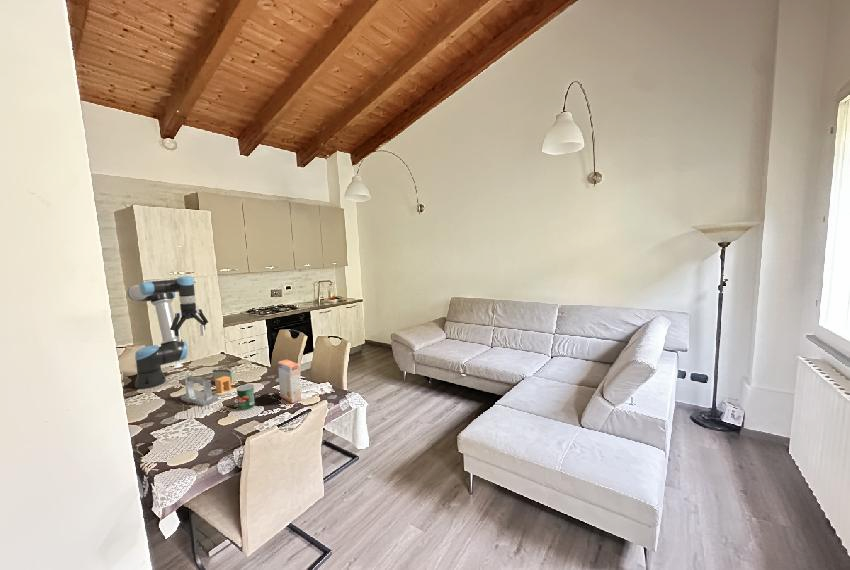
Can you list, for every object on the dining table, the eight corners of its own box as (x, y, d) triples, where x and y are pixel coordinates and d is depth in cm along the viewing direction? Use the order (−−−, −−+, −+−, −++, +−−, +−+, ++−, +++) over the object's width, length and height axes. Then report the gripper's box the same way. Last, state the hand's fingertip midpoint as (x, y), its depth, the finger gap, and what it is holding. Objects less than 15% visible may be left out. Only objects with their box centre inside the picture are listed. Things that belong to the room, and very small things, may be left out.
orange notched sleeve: (216, 391, 202) (215, 379, 201) (225, 387, 207) (224, 375, 206) (221, 393, 200) (220, 380, 199) (231, 389, 205) (230, 377, 204)
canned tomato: (236, 411, 179) (234, 391, 178) (240, 404, 187) (238, 385, 185) (253, 409, 181) (251, 389, 180) (256, 402, 189) (254, 383, 187)
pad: (210, 393, 201) (210, 392, 201) (226, 386, 210) (226, 385, 210) (221, 396, 197) (221, 395, 197) (237, 389, 206) (237, 388, 206)
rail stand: (181, 399, 193) (179, 378, 192) (195, 394, 201) (193, 373, 199) (203, 406, 185) (201, 384, 183) (218, 400, 192) (216, 378, 191)
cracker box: (301, 400, 191) (299, 364, 188) (291, 404, 186) (289, 367, 184) (289, 393, 200) (287, 358, 198) (279, 396, 196) (277, 361, 193)
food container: (238, 381, 219) (237, 366, 218) (231, 385, 213) (230, 369, 212) (220, 380, 220) (218, 365, 219) (213, 384, 214) (211, 369, 213)
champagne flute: (185, 364, 251) (182, 332, 248) (179, 367, 244) (175, 334, 241) (176, 364, 251) (172, 332, 248) (169, 368, 244) (166, 335, 241)
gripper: (168, 307, 187) (172, 344, 190) (212, 300, 210) (215, 333, 212) (160, 306, 191) (164, 343, 193) (205, 299, 213) (208, 332, 216)
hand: (191, 338), depth 203 cm, fingers open, 13 cm apart
